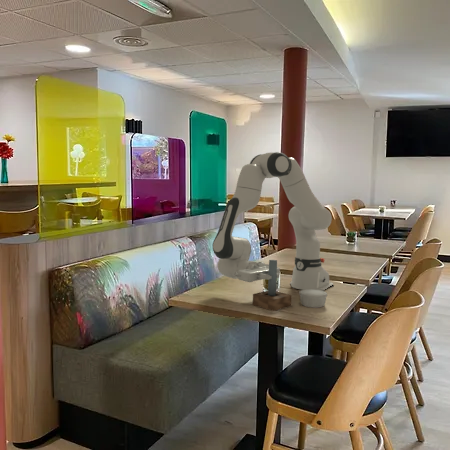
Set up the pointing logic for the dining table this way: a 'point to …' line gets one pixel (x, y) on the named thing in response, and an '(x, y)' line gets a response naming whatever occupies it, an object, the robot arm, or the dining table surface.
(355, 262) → the dining table surface
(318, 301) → the ramekin
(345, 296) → the dining table surface
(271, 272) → the dowel
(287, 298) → the wooden candle holder
